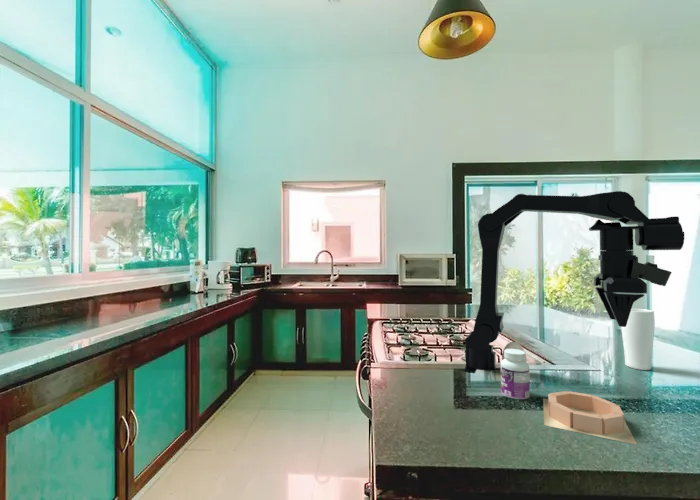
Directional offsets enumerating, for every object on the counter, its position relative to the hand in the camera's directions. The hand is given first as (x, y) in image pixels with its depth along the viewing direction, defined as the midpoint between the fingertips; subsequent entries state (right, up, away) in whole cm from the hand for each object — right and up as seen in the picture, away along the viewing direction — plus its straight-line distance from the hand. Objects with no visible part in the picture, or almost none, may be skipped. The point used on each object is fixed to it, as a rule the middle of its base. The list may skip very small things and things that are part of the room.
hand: (617, 322), depth 73 cm
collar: (-18, -13, -15) cm, 26 cm away
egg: (-17, -15, +10) cm, 25 cm away
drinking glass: (+17, -15, +15) cm, 28 cm away
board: (-18, -14, -15) cm, 27 cm away
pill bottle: (-24, -15, -4) cm, 29 cm away
